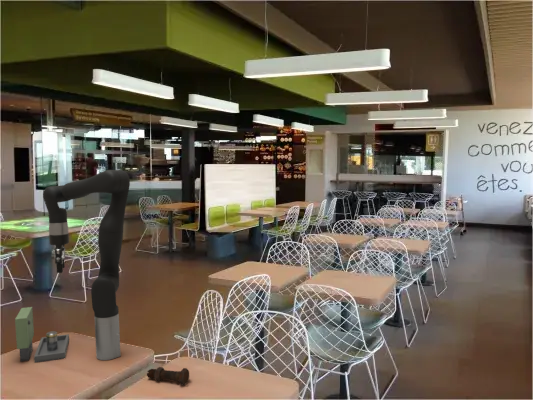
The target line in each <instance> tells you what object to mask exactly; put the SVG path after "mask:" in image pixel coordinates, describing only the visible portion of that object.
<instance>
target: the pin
mask: <svg viewBox="0 0 533 400" xmlns="http://www.w3.org/2000/svg"><path fill="white" fill-rule="evenodd" d="M57 336H58V331H55V330H52V331H48V332H46V334H45V337H47V351H55V350H57V349H58V343H57Z"/></svg>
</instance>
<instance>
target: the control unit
mask: <svg viewBox="0 0 533 400" xmlns="http://www.w3.org/2000/svg"><path fill="white" fill-rule="evenodd" d="M33 312H34V310H33V306H28V307H21V308H20V310H19V312H18V314H17V315H16V317H15V318H14V325H15V339H16V350H19V362H22V363H23V362H27V361H30V359H31V355H32V353H33V350H34V349H33V338H34V336H35V329H34V315H33V314H34V313H33Z"/></svg>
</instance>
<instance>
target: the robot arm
mask: <svg viewBox="0 0 533 400" xmlns="http://www.w3.org/2000/svg"><path fill="white" fill-rule="evenodd" d="M130 186H131V181H130V176H129V174H128V173H127V172H126V171H125V170H122V169H121V170H120V169H107V170H103V171H101V172H99V173H97V174H95V175H93V176H89V177H88V178H83V179H79V180H75V181H71V182H67V183H65V184H62V185H61V184H60V185H51V186H47V187H45V189H44V190H43V193H42V198H43V202H44V204H45V207H46V210H47V213H48V236H49V237H48V238H49V239H48V240H49V245H51V246H55V248H54V250H53V252H54V263H55V265H56V274H62V273H63V272H64V271H63V270H64V268H65V259H66V247H65V245H68V244H69V243H70V237H69V235H70V234H69V225H68V213H67V210H66V208H64V207H60V206H59V203H64V202H69V201H71V200H76V199H81V198H85V197H87V196H89V195H92V194H96V193H97V194H99V193H100V194H101V193H102V194H111V198H110V204H109V206H108V209H107V211H106V212H105V213H104V216H103V217H102V219H101V221H100V223H99V227H98V236H97V237H98V238H97V245H98V251H99V258H100V263H99V264H100V265H99V269H98V270H99V272H98V275H97V278H96V279H95V280H94V281H93V282H92V285H91V291H90V293H91V304H92V305H91V306H92V310H93V314H94V315H93V317H94V332H95V333H94V334H95V335H94V336H95V338H94V339H95V354H96V356H95V357H96V359H97V360H100V361H109V360H113V359H116V358H119V357H121V339H120V338H121V337H120V317H119V316H120V314H119V306H118V305H117V298H116V297H117V296H116V295H117V294H116V293H117V291H118V290H119V287H120V258H121V253H122V245H123V237H124V223H125V216H126V215H125V213H126V206H127V201H128V196H129V190H130Z"/></svg>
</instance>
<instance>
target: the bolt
mask: <svg viewBox="0 0 533 400" xmlns="http://www.w3.org/2000/svg"><path fill="white" fill-rule="evenodd" d="M146 376H147V378H149V379H154V380H155V381H156V382H162V381H165V380H166V381H174V382H179V385H180V386H186V385H187V384H188V382H189V379H190V371H189V369H188V368H187V367H183V368H182V369H181V370H177V371H176V370H167V369H165V368H164V367H163V366H159V367H157V368H149V370H147V373H146Z"/></svg>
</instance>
